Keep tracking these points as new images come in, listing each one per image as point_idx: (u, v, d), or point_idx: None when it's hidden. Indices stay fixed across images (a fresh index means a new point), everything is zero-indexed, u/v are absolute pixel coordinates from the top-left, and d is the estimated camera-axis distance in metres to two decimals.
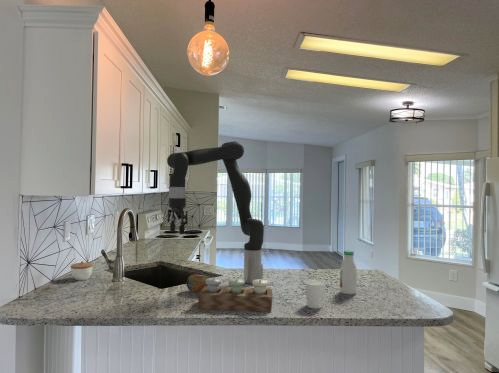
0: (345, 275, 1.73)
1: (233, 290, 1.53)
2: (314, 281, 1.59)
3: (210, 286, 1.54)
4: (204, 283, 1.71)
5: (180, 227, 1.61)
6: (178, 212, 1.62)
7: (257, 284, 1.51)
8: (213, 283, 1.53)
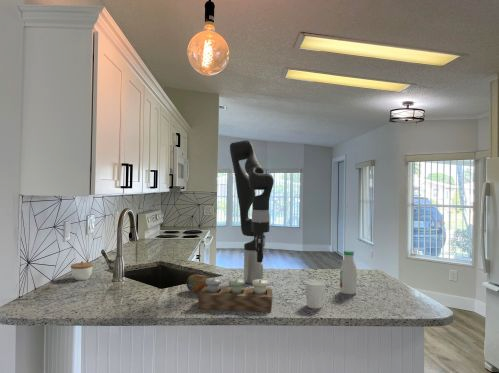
0: (345, 275, 1.73)
1: (233, 290, 1.53)
2: (314, 281, 1.59)
3: (210, 286, 1.54)
4: (204, 283, 1.71)
5: None
6: (263, 236, 1.57)
7: (257, 284, 1.51)
8: (213, 283, 1.53)
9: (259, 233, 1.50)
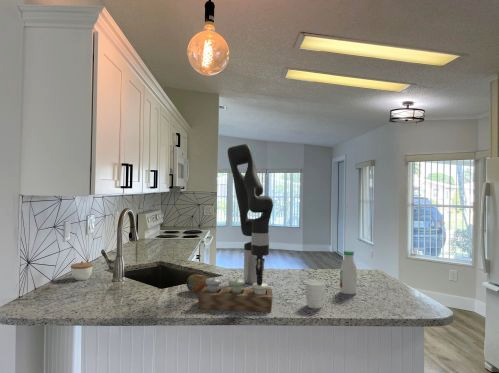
0: (345, 275, 1.73)
1: (233, 290, 1.53)
2: (314, 281, 1.59)
3: (210, 286, 1.54)
4: (204, 283, 1.71)
5: None
6: None
7: (257, 287, 1.51)
8: (213, 283, 1.53)
9: (258, 256, 1.50)
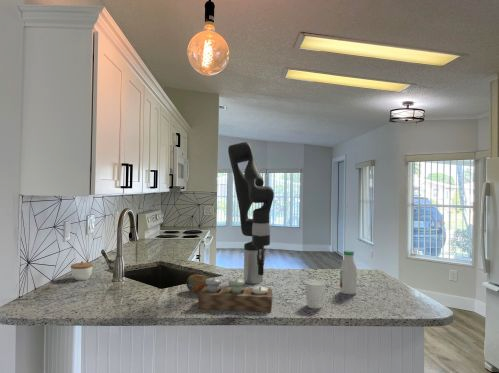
0: (345, 275, 1.73)
1: (233, 290, 1.53)
2: (314, 281, 1.59)
3: (210, 286, 1.54)
4: (204, 283, 1.71)
5: None
6: None
7: (257, 291, 1.51)
8: (213, 283, 1.53)
9: (260, 246, 1.51)
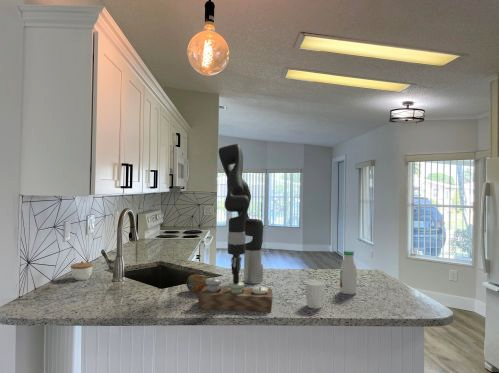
0: (345, 275, 1.73)
1: None
2: (314, 281, 1.59)
3: (210, 286, 1.54)
4: (204, 283, 1.71)
5: None
6: None
7: (257, 291, 1.51)
8: (213, 283, 1.53)
9: (234, 255, 1.51)
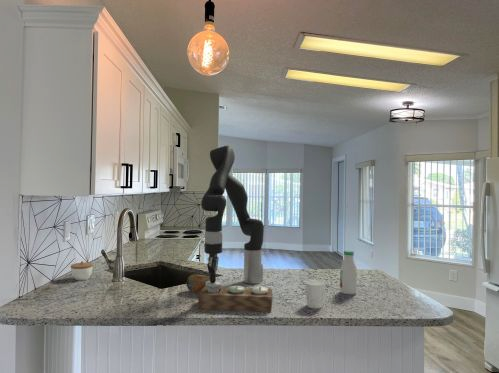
0: (345, 275, 1.73)
1: None
2: (314, 281, 1.59)
3: (210, 289, 1.54)
4: (204, 283, 1.71)
5: None
6: None
7: (257, 291, 1.51)
8: (213, 286, 1.53)
9: (211, 254, 1.52)
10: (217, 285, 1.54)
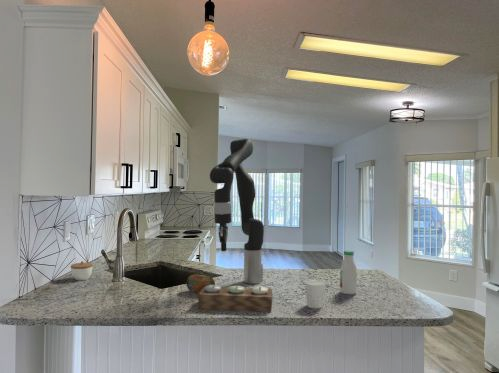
0: (345, 275, 1.73)
1: None
2: (314, 281, 1.59)
3: None
4: (204, 283, 1.71)
5: None
6: None
7: (257, 291, 1.51)
8: (213, 290, 1.53)
9: (221, 224, 1.60)
10: (217, 290, 1.54)
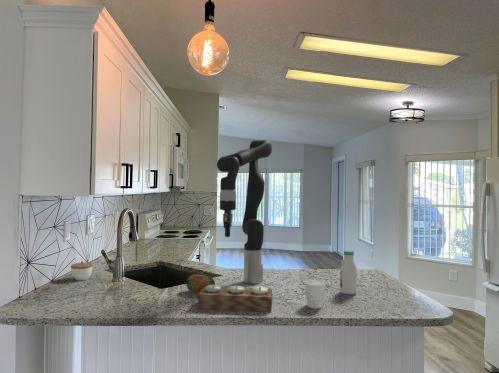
0: (345, 275, 1.73)
1: None
2: (314, 281, 1.59)
3: None
4: (204, 283, 1.71)
5: None
6: None
7: (257, 291, 1.51)
8: (213, 290, 1.53)
9: (226, 210, 1.67)
10: (217, 290, 1.54)
